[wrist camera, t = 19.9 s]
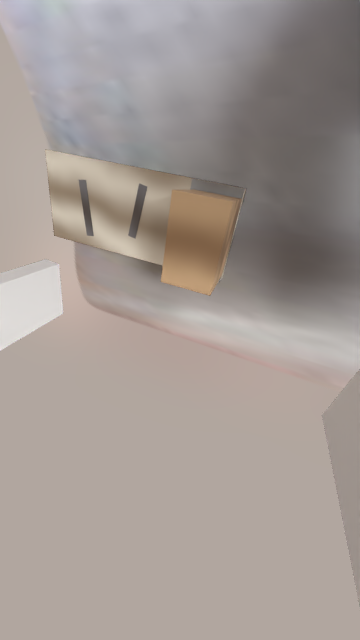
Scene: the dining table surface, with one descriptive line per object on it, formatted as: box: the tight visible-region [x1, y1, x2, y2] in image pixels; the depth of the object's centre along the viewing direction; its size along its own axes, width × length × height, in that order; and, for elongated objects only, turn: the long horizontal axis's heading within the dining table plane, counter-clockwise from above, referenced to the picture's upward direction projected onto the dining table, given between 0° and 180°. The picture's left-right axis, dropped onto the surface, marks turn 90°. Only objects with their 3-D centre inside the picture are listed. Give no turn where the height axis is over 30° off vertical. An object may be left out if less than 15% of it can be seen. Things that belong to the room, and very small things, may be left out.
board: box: [45, 150, 246, 282], centre depth 29 cm, size 10×24×2 cm, turn 80°
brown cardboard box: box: [161, 189, 242, 296], centre depth 24 cm, size 8×5×7 cm, turn 170°
